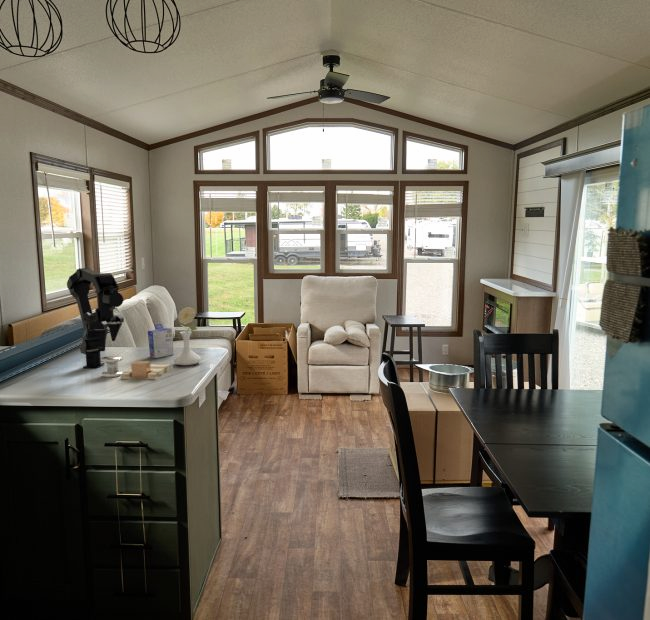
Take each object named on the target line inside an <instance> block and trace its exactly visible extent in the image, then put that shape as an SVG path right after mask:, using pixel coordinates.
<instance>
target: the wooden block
mask: <svg viewBox="0 0 650 620" xmlns="http://www.w3.org/2000/svg"><path fill="white" fill-rule="evenodd" d="M150 364H151V361H150V360H143V361H142V360H135V361H133V362H132V363H130V365H131V366H130V368H131V369H132V378H131V379H134V380H135V379H137V380H138V379H139V380H141V379H142V380H143V379H145V380H146V379H147V380H148V375H147V374H148V373H150V372H151V366H150Z"/></svg>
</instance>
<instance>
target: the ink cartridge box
mask: <svg viewBox="0 0 650 620" xmlns="http://www.w3.org/2000/svg"><path fill="white" fill-rule="evenodd" d="M147 337H148V340H147V341H148V349H149V358H153V359H156V358H163V357H169V356H173V355H175V352H174V339H173V328H169V327H164V326H163V324H162V323H158V324H157V323H156V324H154V329H151V330H148V331H147Z"/></svg>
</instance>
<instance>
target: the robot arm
mask: <svg viewBox="0 0 650 620" xmlns="http://www.w3.org/2000/svg"><path fill="white" fill-rule="evenodd" d="M66 281H67V282H66V287H67V289H68V291H69V293H70V295H71V296H72V298H74V299H75V300H76V303H77V308H78V311H79V314H80V319H81V321H82V327H83V330H84V332H83V335H82V338H81V339H82V341H81V344H80V347H79V351H80V353H81V354H83V355H85V363H86V364H85V365H83V367H82V368H85V369H87V368H88V369H95V368H96V369H97V368H100V367H102V366H105V363H104V362H101V358H102V357H101V352H105V351H106V343H107V342H106V341H107V336H108V331H109V333H110V338H111V342H115V341H116V339H117V336H118V335H119V332H120V329H121V327H122V325H123V323H124V322H125V321H124V316H123V315H121V314H114V310H116V308H118V307H120V306H122V304H123V303H124V297H123V295H122V294H121V293H120V292H119V285H118V283H117V281H116V279H115V277H114V275H113V274H112V273H111V272H105V273H102V272H98V271H95V270H92V269H91V268H89V267H83V268H81V267H80V268H78V269H76V271H75V272H74V273H73V274H71V275H69V277H68V280H66ZM91 284H92V286H93V287H94V289H95V291H94V293H95V294H96V300H97V307H96V308H95V309H94V312H93V310H92V306H91V302H90V299H89V296H88V295H89V293H90V290H91V288H90V287H91Z"/></svg>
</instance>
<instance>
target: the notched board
mask: <svg viewBox="0 0 650 620" xmlns="http://www.w3.org/2000/svg"><path fill="white" fill-rule="evenodd" d="M171 365H172V364H171V363H169V364H167V363H163V364H162V363H161V364H160V363H154V364H153V363H152V364H151V363H150V366H151V372H150V373H148V374H147V375H148V378H147V380H158V378H161V376H163V375H165V374H166V373H167V372H169V371H170V370H171V367H172V366H171ZM130 379H132V369H131V367H130V368H128V369H127V370H125V371H123V373H121V376H120V380H130Z"/></svg>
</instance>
